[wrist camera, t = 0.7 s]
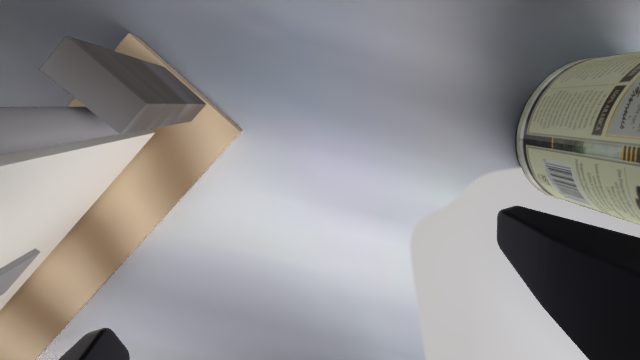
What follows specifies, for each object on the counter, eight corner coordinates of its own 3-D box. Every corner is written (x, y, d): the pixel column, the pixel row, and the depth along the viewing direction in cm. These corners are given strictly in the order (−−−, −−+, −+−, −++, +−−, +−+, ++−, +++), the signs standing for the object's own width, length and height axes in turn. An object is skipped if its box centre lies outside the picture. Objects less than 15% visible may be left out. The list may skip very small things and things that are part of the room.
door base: (27, 368, 23) (-156, 555, 14) (-86, 304, 21) (-390, 468, 12) (242, 130, 21) (207, 151, 12) (138, 37, 19) (-8, -31, 10)
